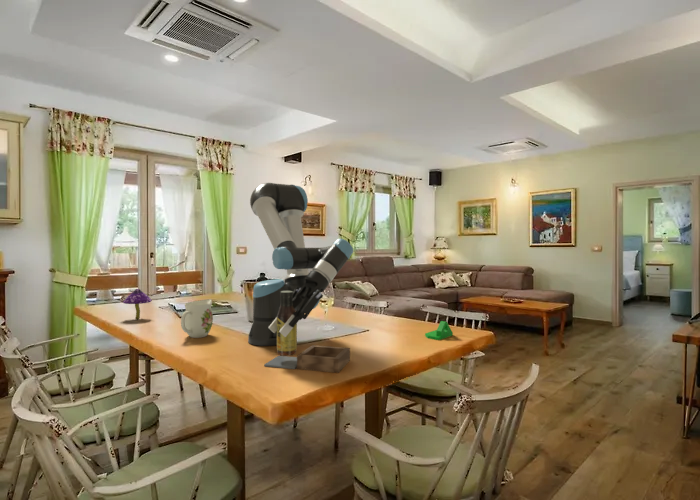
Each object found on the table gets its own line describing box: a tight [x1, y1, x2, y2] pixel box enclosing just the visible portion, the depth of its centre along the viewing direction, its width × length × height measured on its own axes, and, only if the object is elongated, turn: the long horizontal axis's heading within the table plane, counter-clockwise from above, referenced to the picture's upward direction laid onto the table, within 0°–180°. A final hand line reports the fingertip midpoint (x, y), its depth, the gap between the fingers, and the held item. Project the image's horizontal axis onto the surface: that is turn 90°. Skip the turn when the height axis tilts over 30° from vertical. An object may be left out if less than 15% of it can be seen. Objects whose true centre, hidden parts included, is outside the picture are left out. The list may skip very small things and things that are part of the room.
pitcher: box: [180, 298, 214, 339], centre depth 162 cm, size 11×18×14 cm, turn 164°
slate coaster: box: [264, 355, 297, 370], centre depth 127 cm, size 10×10×1 cm
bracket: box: [424, 320, 454, 341], centre depth 166 cm, size 12×8×7 cm, turn 139°
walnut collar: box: [296, 344, 351, 374], centre depth 126 cm, size 13×13×4 cm
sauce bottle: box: [276, 291, 298, 357], centre depth 126 cm, size 6×6×20 cm
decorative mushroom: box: [122, 288, 152, 320], centre depth 195 cm, size 12×12×15 cm
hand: (276, 332), depth 124 cm, fingers closed on sauce bottle, 6 cm apart
